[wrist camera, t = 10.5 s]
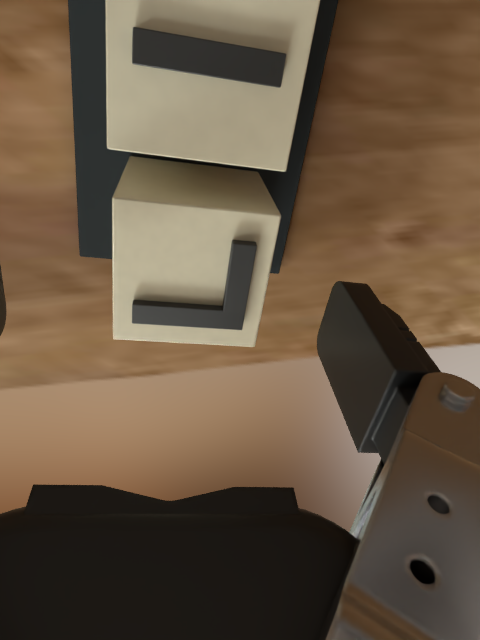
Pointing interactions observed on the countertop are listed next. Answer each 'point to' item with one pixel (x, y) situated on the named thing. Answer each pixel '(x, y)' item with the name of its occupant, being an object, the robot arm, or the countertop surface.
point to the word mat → (108, 165)
